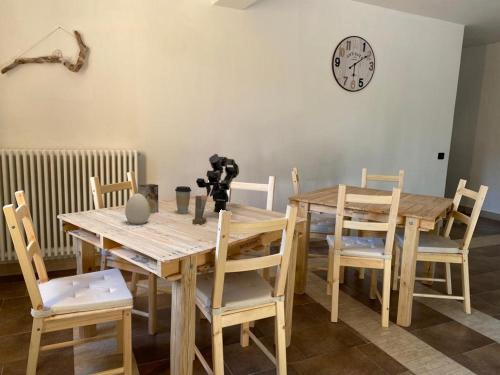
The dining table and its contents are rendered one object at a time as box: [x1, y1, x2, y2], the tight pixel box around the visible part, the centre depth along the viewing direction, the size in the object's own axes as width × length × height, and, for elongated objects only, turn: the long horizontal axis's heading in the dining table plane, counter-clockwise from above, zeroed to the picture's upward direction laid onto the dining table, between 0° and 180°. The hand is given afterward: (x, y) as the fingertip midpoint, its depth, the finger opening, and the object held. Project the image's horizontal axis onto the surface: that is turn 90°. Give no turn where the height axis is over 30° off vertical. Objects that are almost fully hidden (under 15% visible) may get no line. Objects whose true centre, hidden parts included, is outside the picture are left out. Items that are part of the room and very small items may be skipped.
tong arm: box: [200, 195, 209, 218], centre depth 201 cm, size 1×3×12 cm, turn 74°
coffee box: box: [138, 183, 159, 214], centre depth 218 cm, size 9×6×16 cm
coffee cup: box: [174, 186, 192, 215], centre depth 221 cm, size 9×9×15 cm
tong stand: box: [192, 195, 208, 226], centre depth 198 cm, size 7×5×15 cm
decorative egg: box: [124, 193, 151, 225], centre depth 194 cm, size 12×12×15 cm
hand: (208, 196), depth 209 cm, fingers closed
